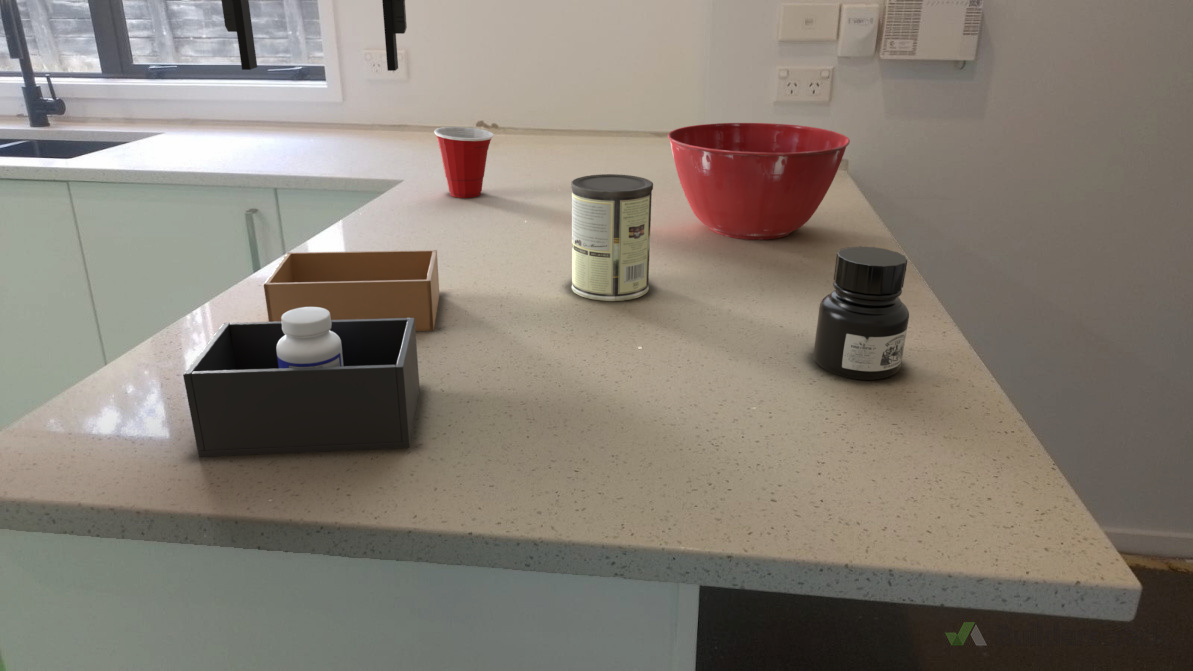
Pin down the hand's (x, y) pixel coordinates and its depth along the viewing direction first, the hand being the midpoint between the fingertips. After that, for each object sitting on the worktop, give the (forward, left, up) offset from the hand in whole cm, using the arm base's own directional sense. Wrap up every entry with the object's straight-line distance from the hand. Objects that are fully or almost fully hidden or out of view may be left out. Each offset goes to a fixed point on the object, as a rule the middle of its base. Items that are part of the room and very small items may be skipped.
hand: (322, 69), depth 82 cm
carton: (0, +8, -29) cm, 30 cm away
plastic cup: (+11, +70, -29) cm, 77 cm away
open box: (0, -19, -29) cm, 34 cm away
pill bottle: (0, -19, -28) cm, 34 cm away
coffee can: (+31, +15, -29) cm, 45 cm away
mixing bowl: (+58, +43, -29) cm, 78 cm away
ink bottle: (+54, -11, -29) cm, 62 cm away
